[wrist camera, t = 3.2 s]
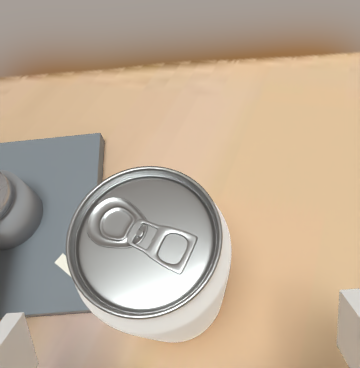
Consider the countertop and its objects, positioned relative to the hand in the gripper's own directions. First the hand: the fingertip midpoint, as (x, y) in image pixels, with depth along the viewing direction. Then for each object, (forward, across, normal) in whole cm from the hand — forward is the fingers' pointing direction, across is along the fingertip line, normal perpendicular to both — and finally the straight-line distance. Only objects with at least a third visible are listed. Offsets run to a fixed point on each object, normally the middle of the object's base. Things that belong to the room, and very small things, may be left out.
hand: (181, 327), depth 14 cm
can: (+8, -1, -4) cm, 9 cm away
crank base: (+12, -13, +1) cm, 18 cm away
